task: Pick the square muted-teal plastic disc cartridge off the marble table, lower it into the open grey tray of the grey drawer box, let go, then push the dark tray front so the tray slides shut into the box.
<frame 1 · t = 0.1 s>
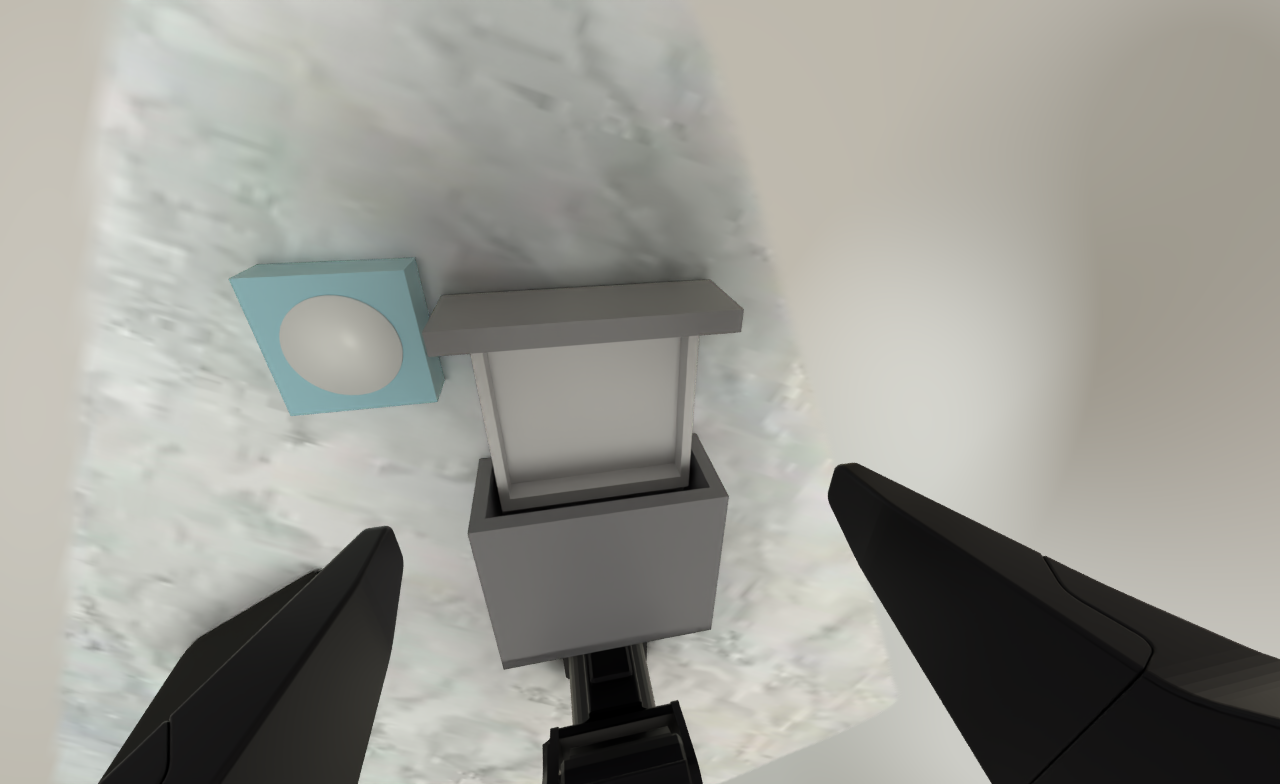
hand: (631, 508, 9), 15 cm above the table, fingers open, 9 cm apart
grey drawer box: (596, 509, 29), on the table
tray: (593, 412, 22), point 2 cm above the table, slide at 8.0 cm
cartridge: (362, 325, 21), on the table
electronic device: (285, 617, 29), on the table
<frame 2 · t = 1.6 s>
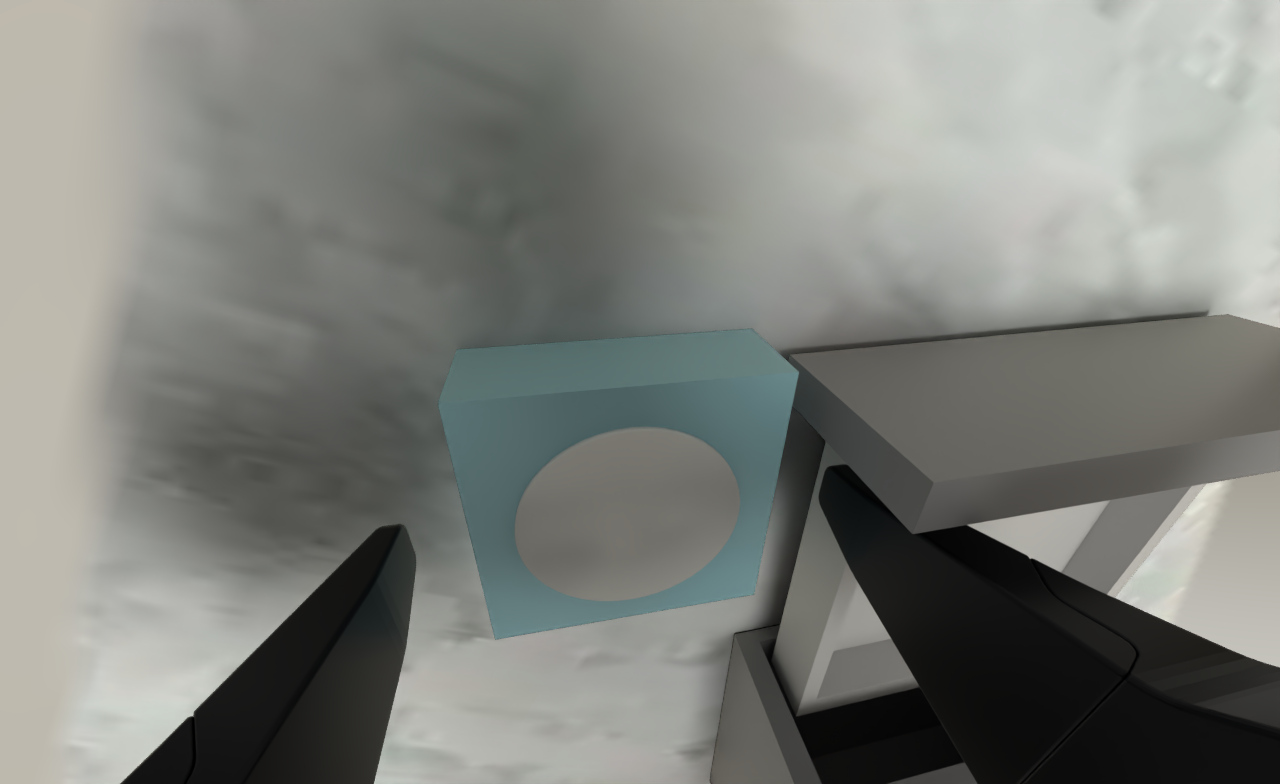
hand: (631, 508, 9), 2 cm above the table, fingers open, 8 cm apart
grey drawer box: (864, 678, 19), on the table
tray: (1012, 563, 12), point 2 cm above the table, slide at 9.1 cm, touching gripper
cartridge: (613, 447, 11), on the table
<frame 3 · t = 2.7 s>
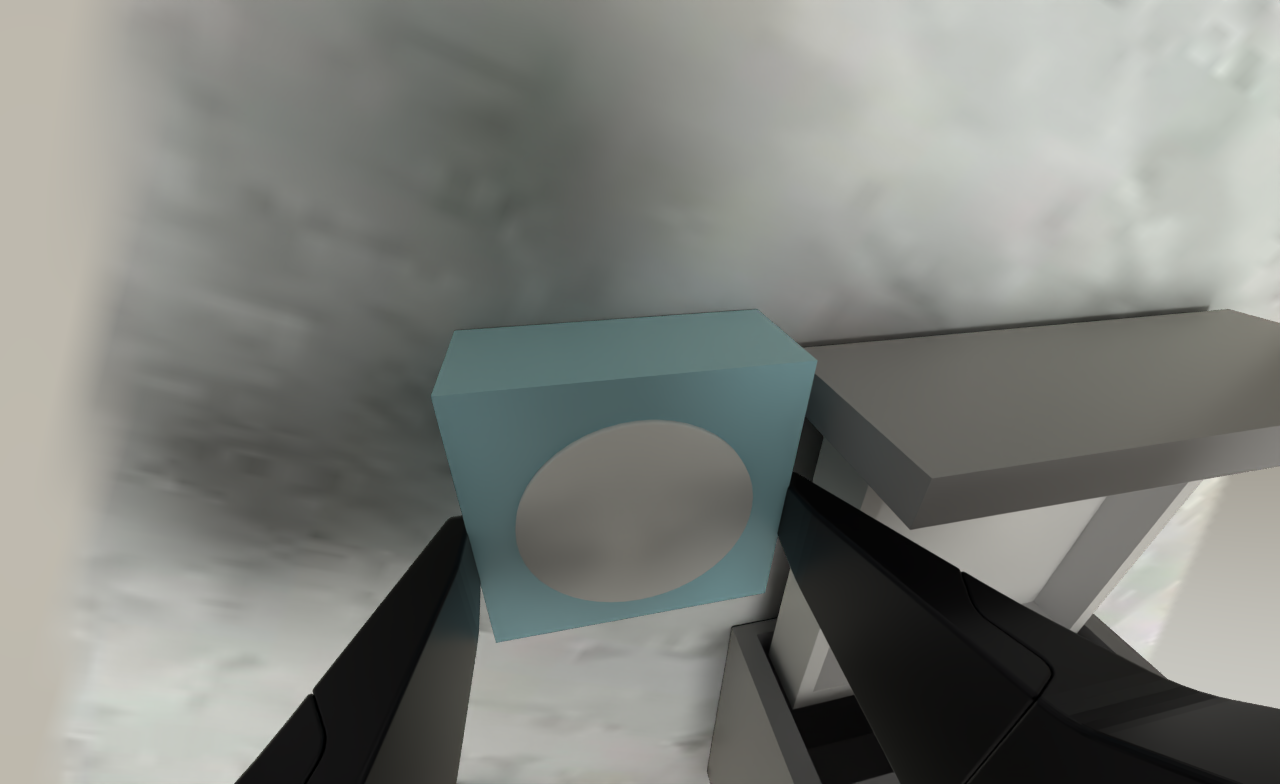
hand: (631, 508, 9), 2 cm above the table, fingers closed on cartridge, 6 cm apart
grey drawer box: (861, 671, 19), on the table
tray: (1009, 557, 12), point 2 cm above the table, slide at 9.0 cm
cartridge: (617, 441, 11), on the table, touching gripper
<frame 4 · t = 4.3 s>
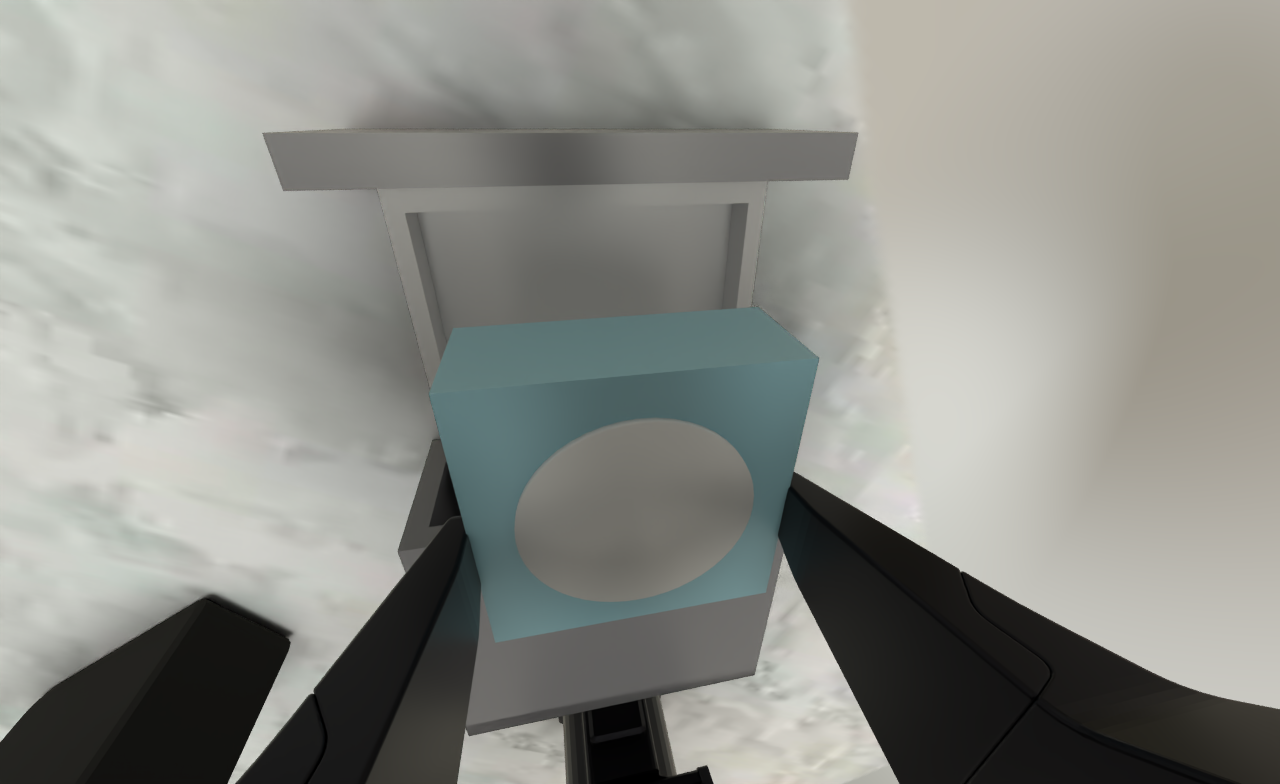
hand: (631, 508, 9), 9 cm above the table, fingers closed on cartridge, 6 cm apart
grey drawer box: (598, 512, 21), on the table
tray: (594, 337, 14), point 2 cm above the table, slide at 9.0 cm
cartridge: (617, 440, 11), point 7 cm above the table, touching gripper
electronic device: (175, 658, 21), on the table
when the fingers open (3 cm above the table, at t = 5.5 s): cartridge stays where it is, resting on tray.
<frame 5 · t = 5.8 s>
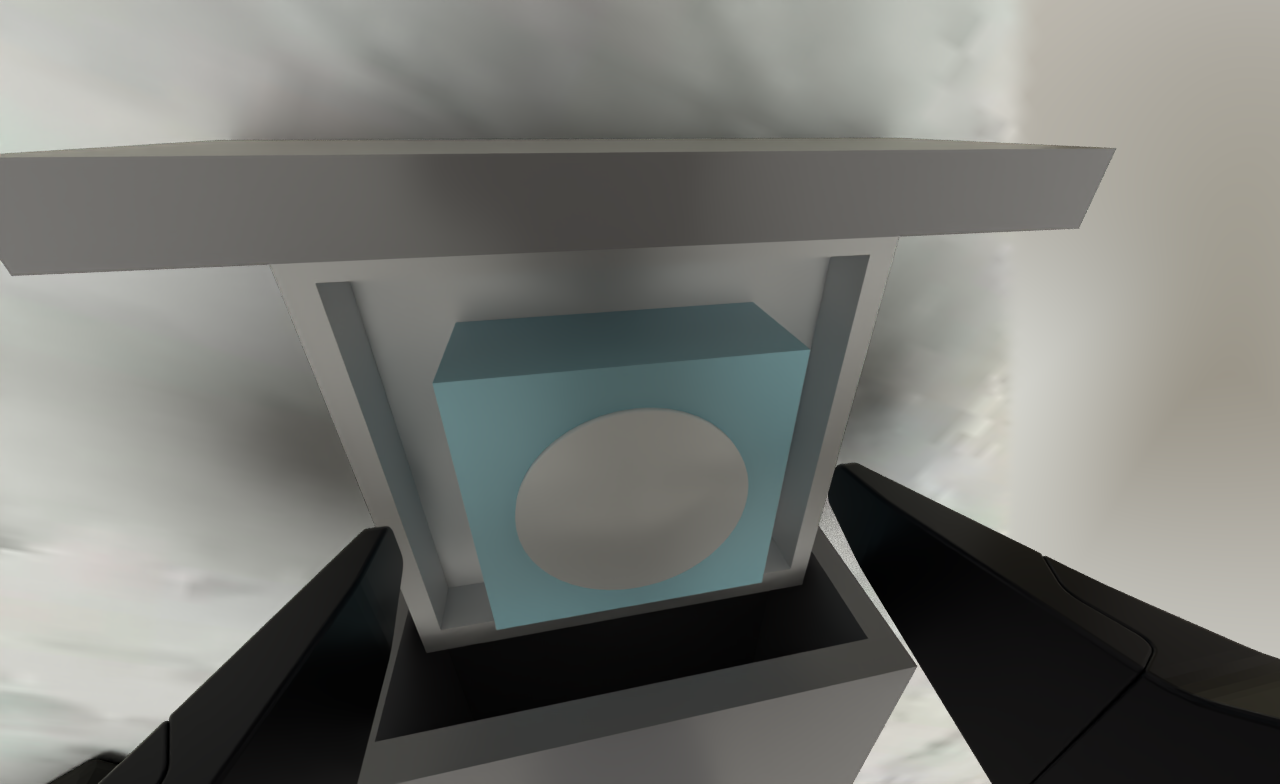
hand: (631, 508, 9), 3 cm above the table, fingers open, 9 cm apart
grey drawer box: (617, 627, 17), on the table
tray: (624, 450, 10), point 2 cm above the table, slide at 9.0 cm, touching cartridge
cartridge: (616, 433, 11), point 1 cm above the table, touching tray
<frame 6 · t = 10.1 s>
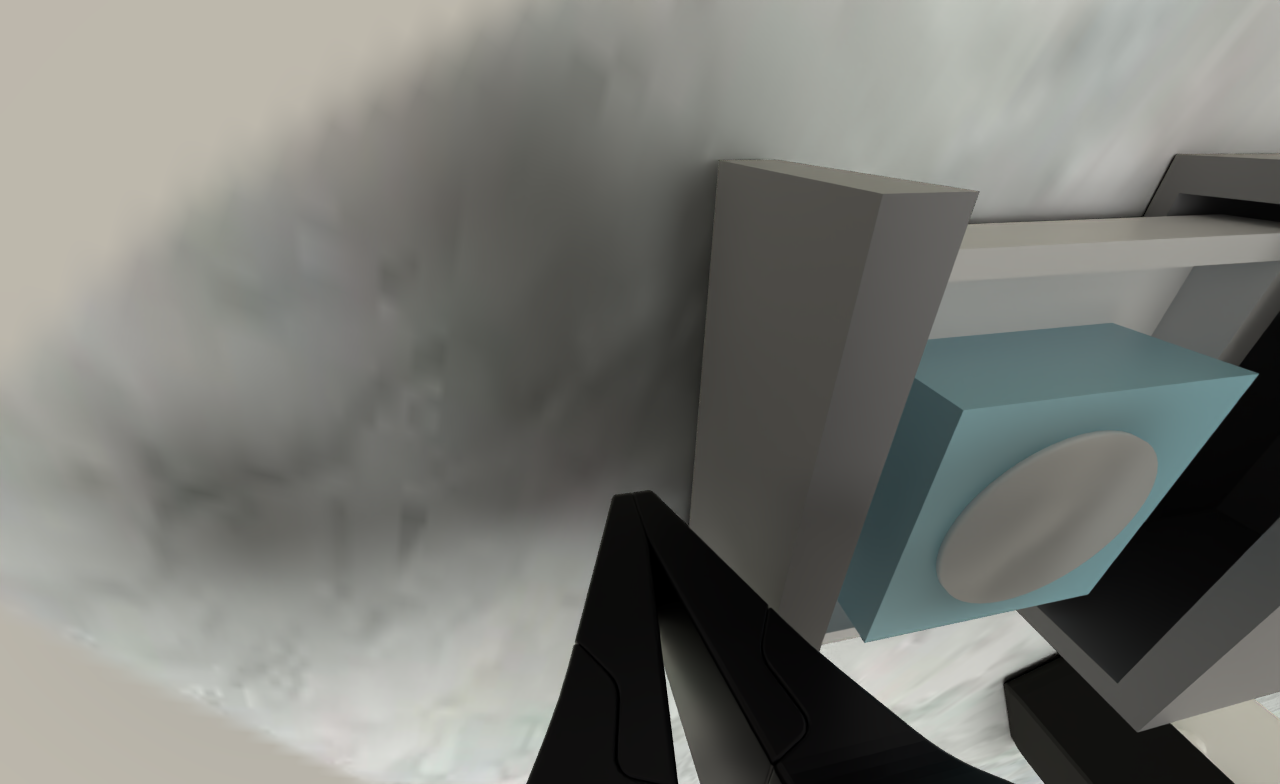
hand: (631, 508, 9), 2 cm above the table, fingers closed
cup: (1152, 703, 30), on the table
grey drawer box: (1183, 387, 14), on the table
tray: (972, 485, 10), point 2 cm above the table, slide at 8.8 cm, touching cartridge, gripper
cartridge: (946, 449, 11), point 1 cm above the table, touching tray
electronic device: (1039, 691, 25), on the table
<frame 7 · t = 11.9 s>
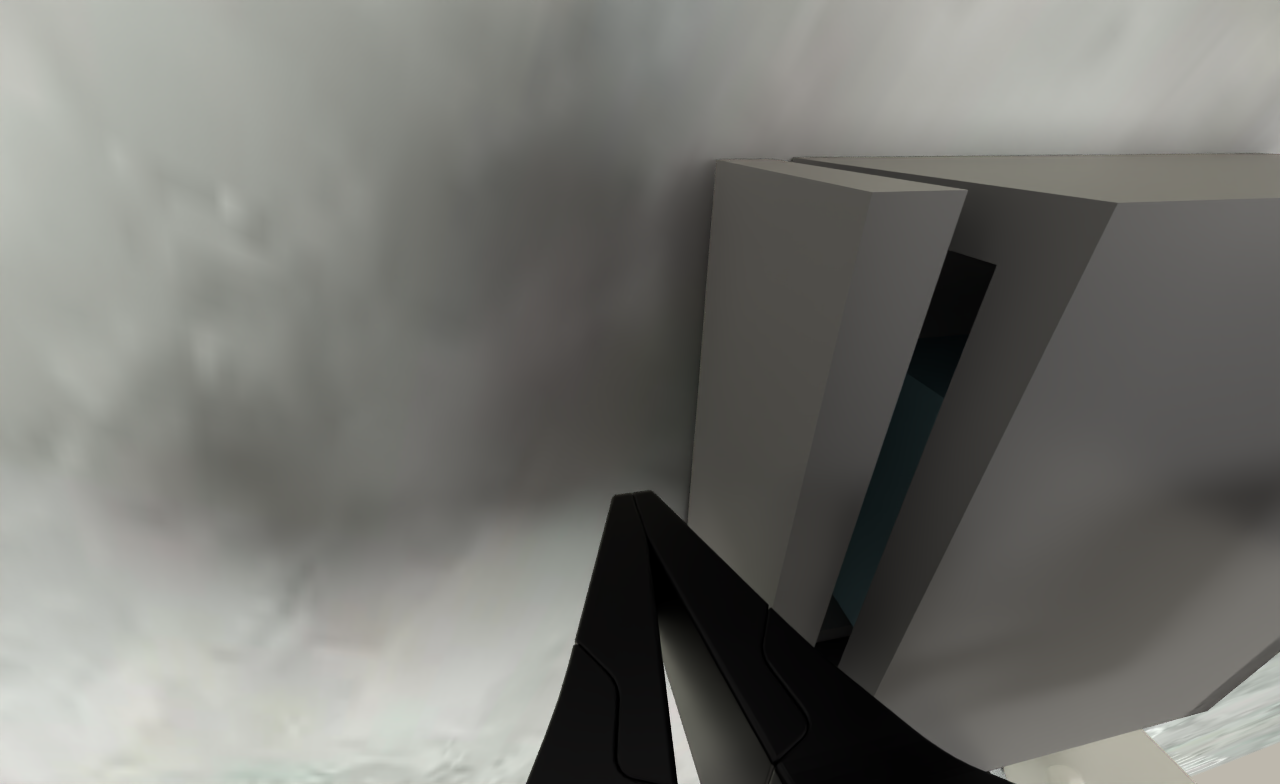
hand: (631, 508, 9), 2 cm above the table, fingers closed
cup: (1044, 734, 29), on the table
grey drawer box: (927, 418, 12), on the table
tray: (969, 483, 10), point 2 cm above the table, slide at 0.1 cm, touching cartridge, gripper
cartridge: (943, 447, 11), point 1 cm above the table, touching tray
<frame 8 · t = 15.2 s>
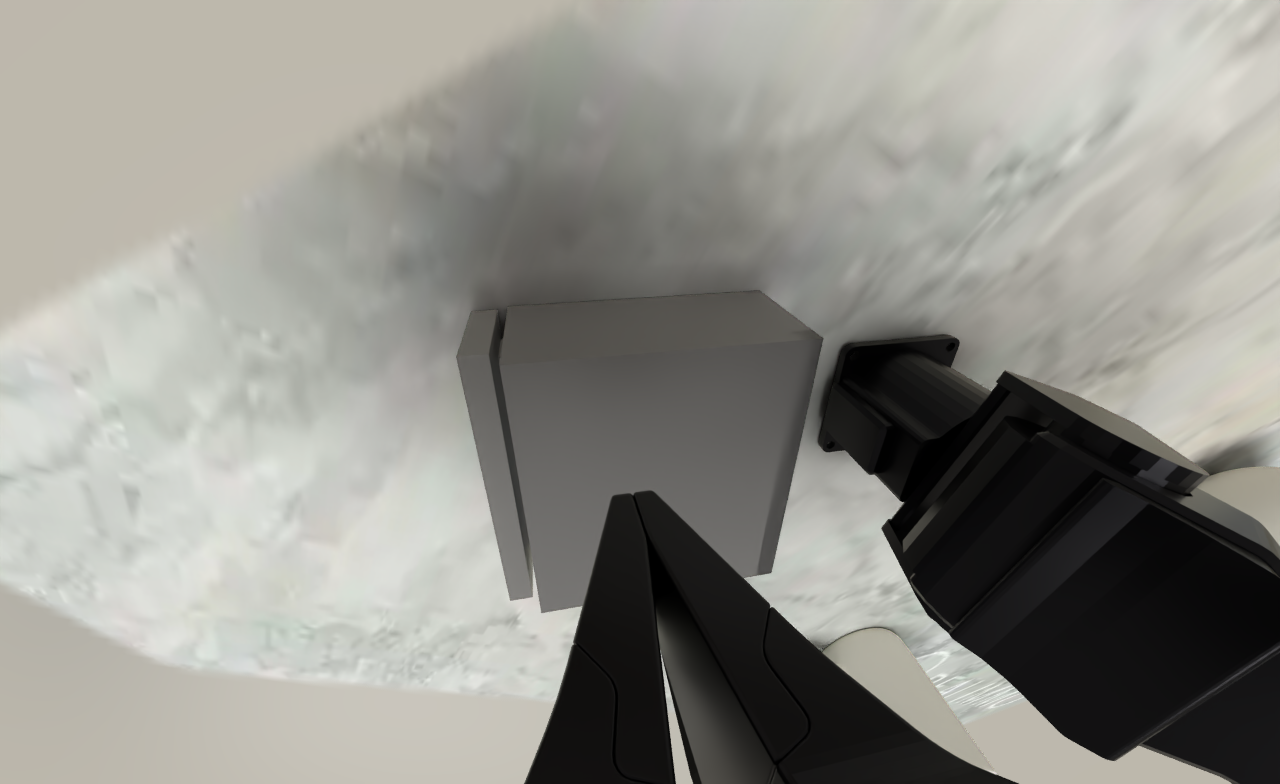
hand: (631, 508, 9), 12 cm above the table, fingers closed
ornament: (1188, 490, 37), on the table
cup: (839, 649, 39), on the table
grey drawer box: (629, 419, 23), on the table
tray: (621, 450, 21), point 2 cm above the table, slide at 0.0 cm, touching cartridge
electronic device: (706, 631, 34), on the table
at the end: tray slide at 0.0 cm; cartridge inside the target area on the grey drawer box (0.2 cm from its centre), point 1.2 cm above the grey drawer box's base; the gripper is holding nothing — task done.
